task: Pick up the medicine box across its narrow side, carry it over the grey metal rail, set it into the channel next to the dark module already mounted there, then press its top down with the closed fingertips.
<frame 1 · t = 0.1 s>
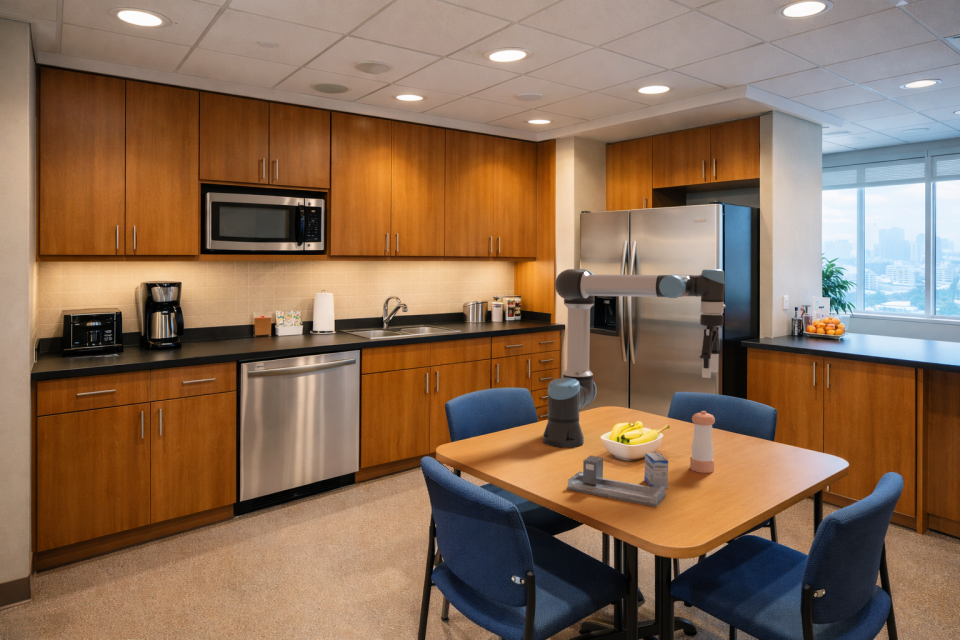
hand: (710, 374, 214), 28 cm above the table, fingers open, 13 cm apart
rail: (615, 492, 177), on the table
pepper shaker: (701, 469, 198), on the table
medicine box: (655, 485, 184), on the table
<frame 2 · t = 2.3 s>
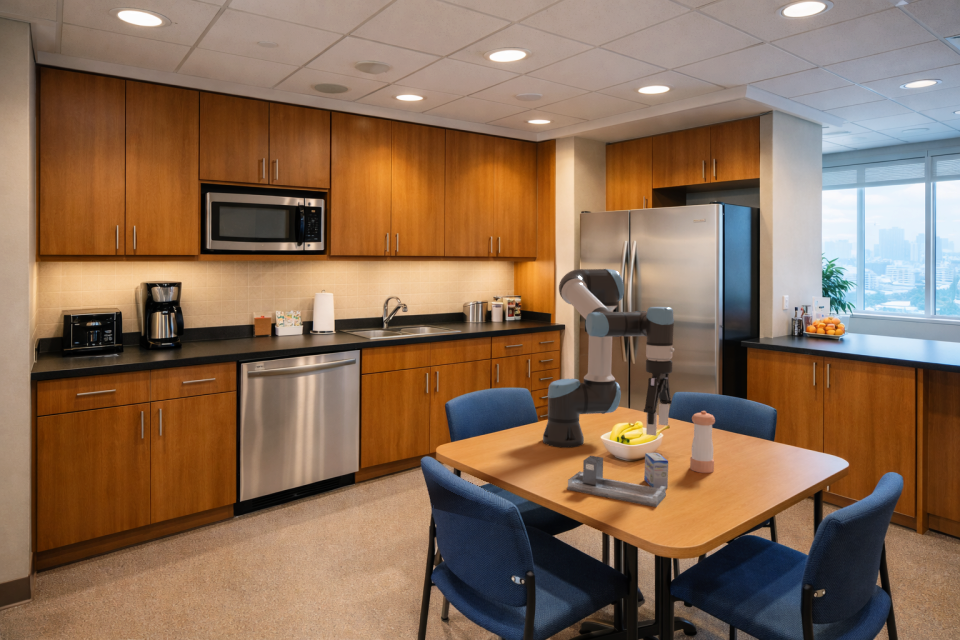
hand: (657, 429, 183), 17 cm above the table, fingers open, 13 cm apart
nothing on the table moved.
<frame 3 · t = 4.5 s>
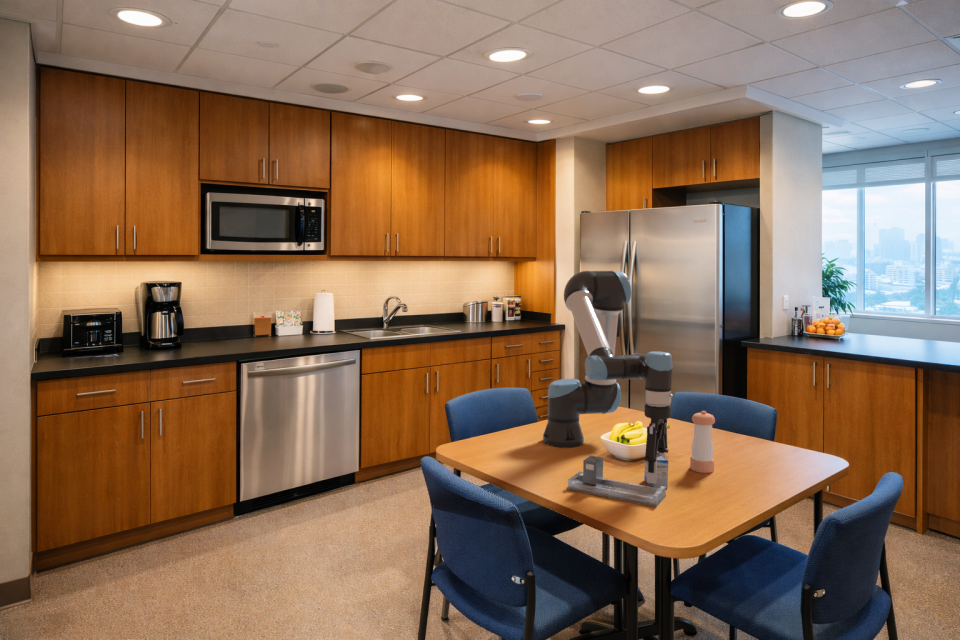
hand: (655, 478, 184), 2 cm above the table, fingers closed on medicine box, 9 cm apart
medicine box: (655, 485, 184), on the table, touching gripper
everything else where it was.
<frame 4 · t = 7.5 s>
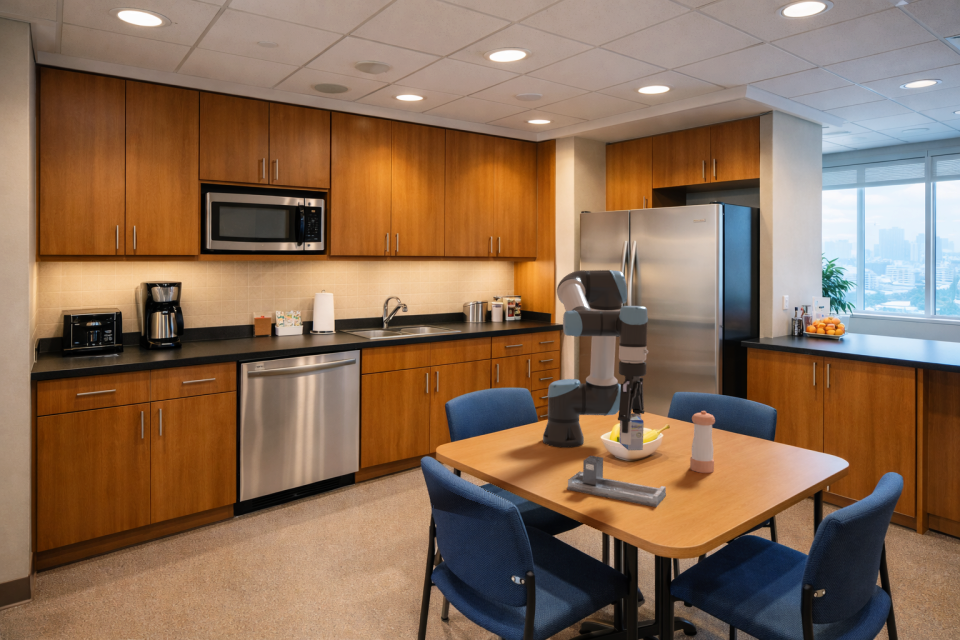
hand: (630, 439, 174), 16 cm above the table, fingers closed on medicine box, 9 cm apart
medicine box: (630, 447, 174), point 14 cm above the table, touching gripper
everything else where it was.
when the fingers open (4 cm above the table, at t = 10.5 s): medicine box stays where it is, resting on rail.
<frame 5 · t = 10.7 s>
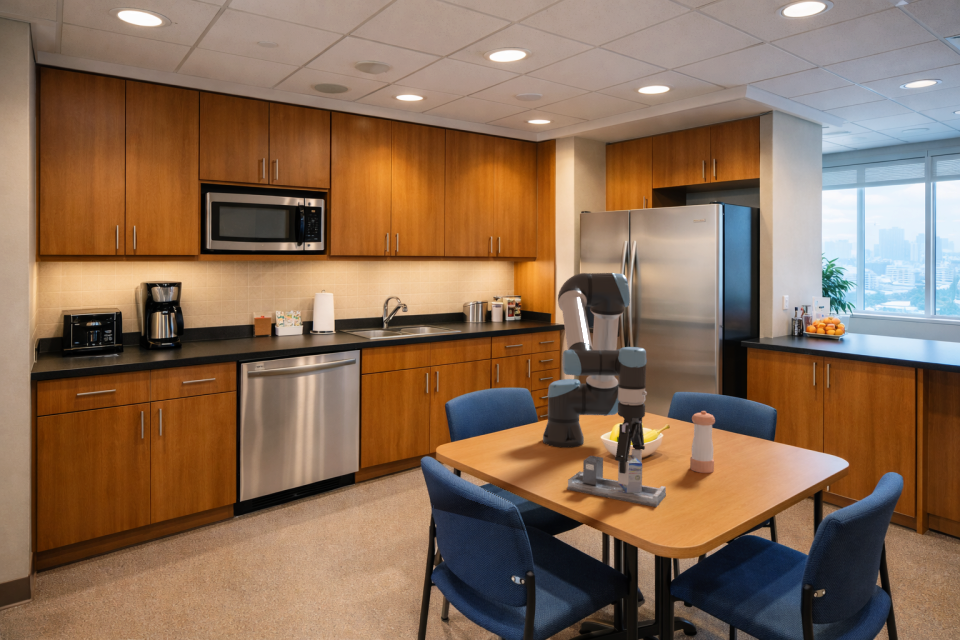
hand: (629, 477, 175), 5 cm above the table, fingers open, 11 cm apart
medicine box: (629, 489, 175), point 2 cm above the table, touching rail
everything else where it was.
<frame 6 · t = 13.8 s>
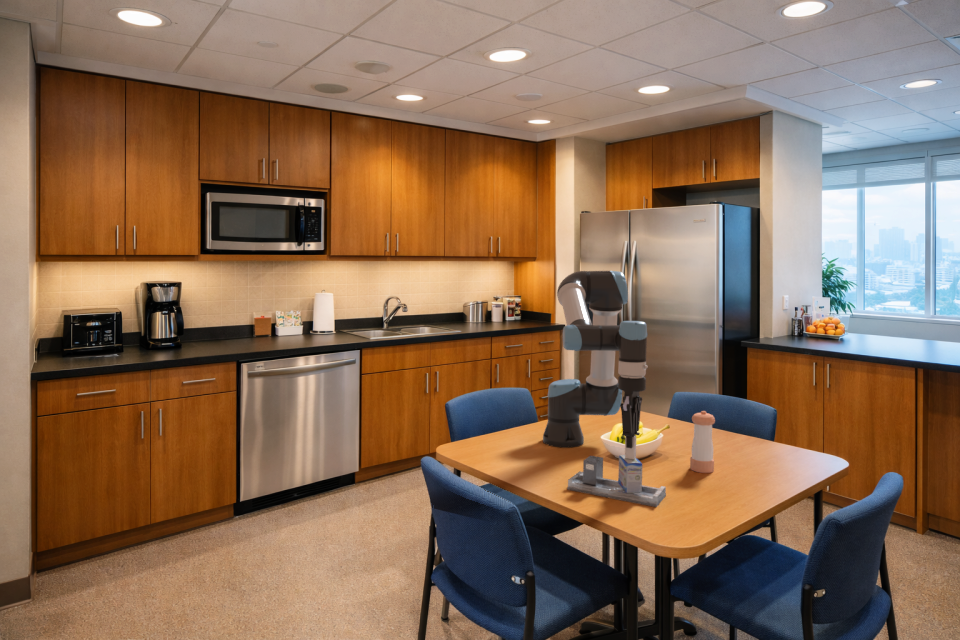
hand: (630, 458, 174), 11 cm above the table, fingers closed
medicine box: (629, 489, 175), point 2 cm above the table, touching gripper, rail
everything else where it was.
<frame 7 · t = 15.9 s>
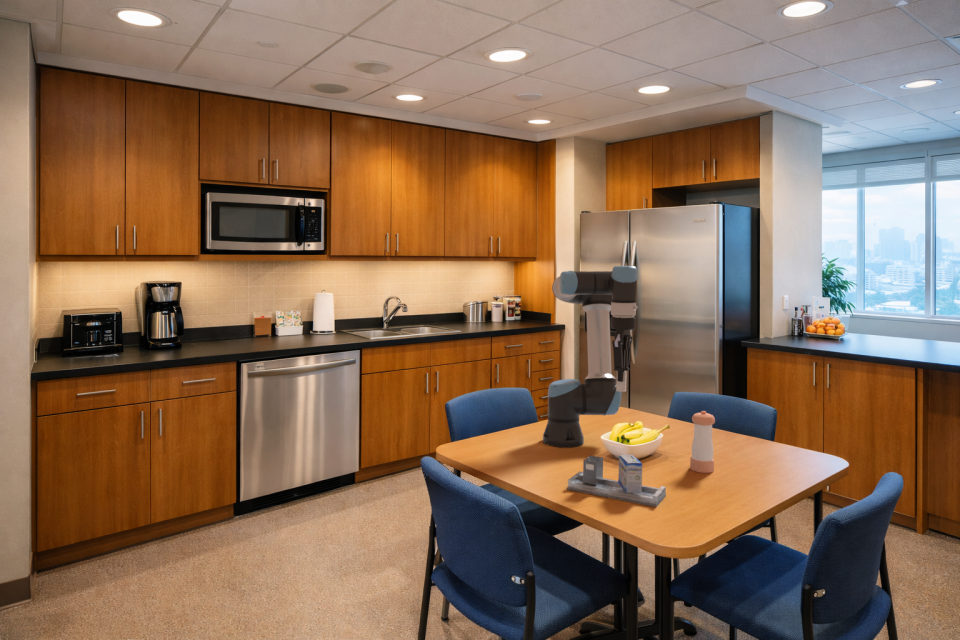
hand: (621, 391, 191), 27 cm above the table, fingers closed
medicine box: (629, 489, 175), point 2 cm above the table, touching rail
everything else where it was.
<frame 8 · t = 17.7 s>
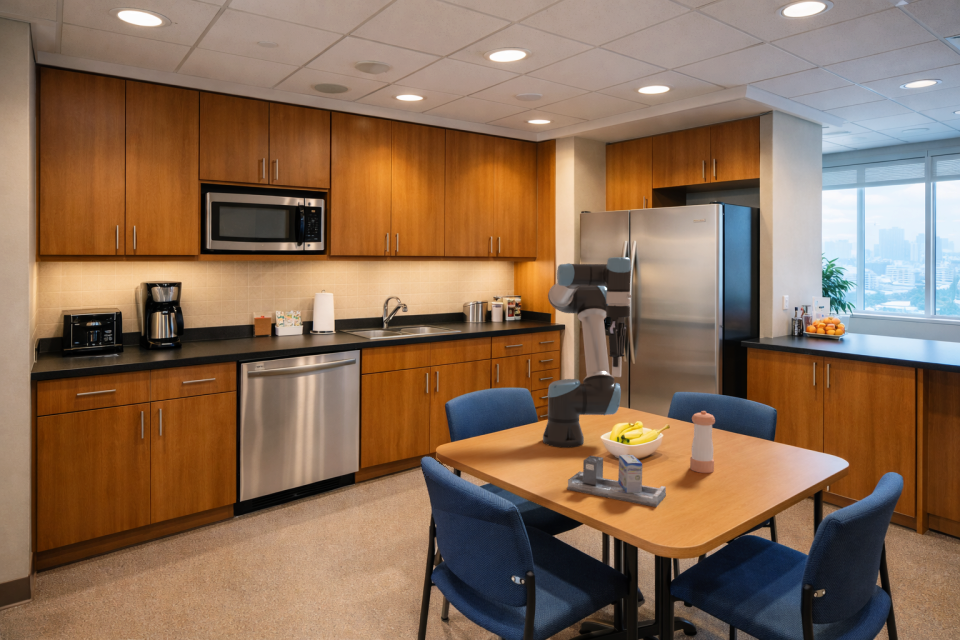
hand: (616, 376, 202), 29 cm above the table, fingers closed
nothing on the table moved.
at the end: medicine box inside the target area on the rail (0.3 cm from its centre), point 1.8 cm above the rail's base; medicine box tilted 0°; the gripper is holding nothing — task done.
